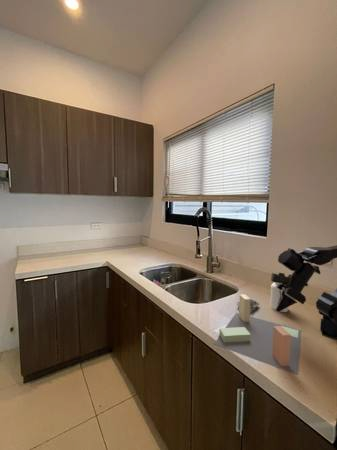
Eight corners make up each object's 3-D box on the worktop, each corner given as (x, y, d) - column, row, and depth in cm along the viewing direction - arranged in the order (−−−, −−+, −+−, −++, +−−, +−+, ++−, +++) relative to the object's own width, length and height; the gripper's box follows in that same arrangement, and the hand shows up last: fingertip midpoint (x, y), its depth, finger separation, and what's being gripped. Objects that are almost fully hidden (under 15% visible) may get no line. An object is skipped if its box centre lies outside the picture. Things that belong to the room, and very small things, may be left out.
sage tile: (244, 327, 85) (219, 328, 84) (250, 334, 80) (224, 335, 79) (244, 333, 86) (219, 334, 85) (250, 340, 81) (224, 342, 80)
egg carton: (249, 315, 101) (249, 307, 101) (235, 309, 107) (235, 301, 107) (260, 308, 108) (261, 300, 108) (247, 303, 114) (247, 295, 114)
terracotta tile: (279, 354, 73) (280, 326, 72) (288, 365, 68) (290, 334, 68) (272, 355, 73) (273, 326, 72) (281, 366, 68) (283, 335, 67)
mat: (301, 331, 88) (301, 330, 88) (297, 376, 65) (297, 374, 65) (236, 313, 102) (236, 312, 102) (213, 345, 79) (213, 343, 79)
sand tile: (244, 315, 99) (245, 294, 98) (249, 321, 94) (250, 299, 93) (238, 316, 99) (239, 294, 98) (243, 322, 94) (244, 299, 93)
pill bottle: (271, 303, 113) (273, 275, 112) (289, 308, 109) (291, 278, 107) (268, 309, 107) (270, 279, 106) (287, 314, 102) (288, 283, 101)
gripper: (275, 264, 95) (255, 293, 96) (286, 265, 77) (260, 301, 78) (300, 279, 92) (279, 310, 92) (317, 284, 74) (291, 322, 74)
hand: (277, 310), depth 84 cm, fingers closed
